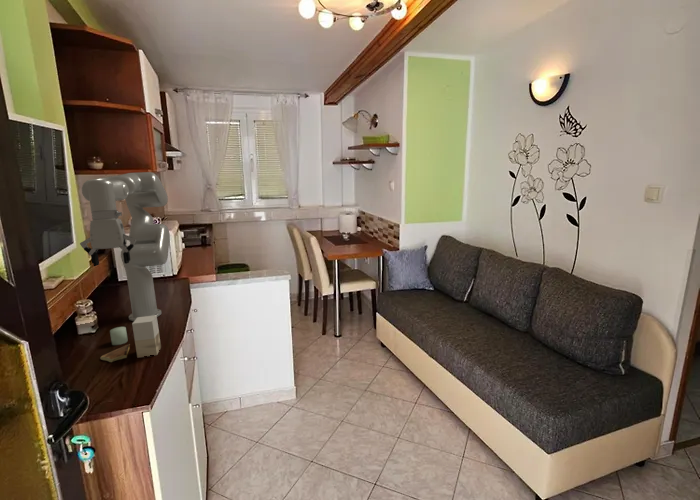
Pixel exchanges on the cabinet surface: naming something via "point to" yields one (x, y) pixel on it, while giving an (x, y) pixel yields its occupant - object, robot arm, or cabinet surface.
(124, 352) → the shard
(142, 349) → the tower base
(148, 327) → the tower top
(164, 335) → the cabinet surface
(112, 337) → the green cylinder
